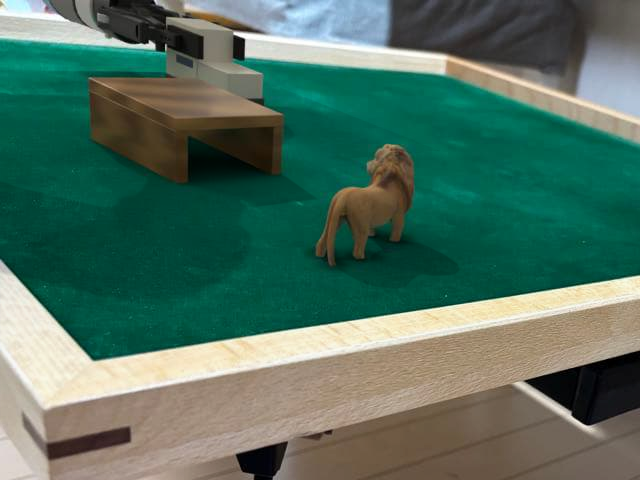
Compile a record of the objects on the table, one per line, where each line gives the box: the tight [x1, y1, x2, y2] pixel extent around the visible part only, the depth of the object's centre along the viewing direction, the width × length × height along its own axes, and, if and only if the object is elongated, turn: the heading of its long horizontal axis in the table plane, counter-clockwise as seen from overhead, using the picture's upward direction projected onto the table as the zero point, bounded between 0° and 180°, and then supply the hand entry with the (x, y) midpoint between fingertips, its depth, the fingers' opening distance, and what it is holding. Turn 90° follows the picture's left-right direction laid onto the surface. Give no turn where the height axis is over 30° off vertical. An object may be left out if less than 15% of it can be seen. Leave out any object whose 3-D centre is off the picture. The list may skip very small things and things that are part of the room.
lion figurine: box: [315, 143, 415, 267], centre depth 76 cm, size 15×5×9 cm, turn 169°
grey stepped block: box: [164, 17, 265, 107], centre depth 110 cm, size 13×6×8 cm, turn 52°
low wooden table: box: [87, 77, 285, 184], centre depth 89 cm, size 15×12×7 cm
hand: (221, 48), depth 109 cm, fingers closed on grey stepped block, 5 cm apart
